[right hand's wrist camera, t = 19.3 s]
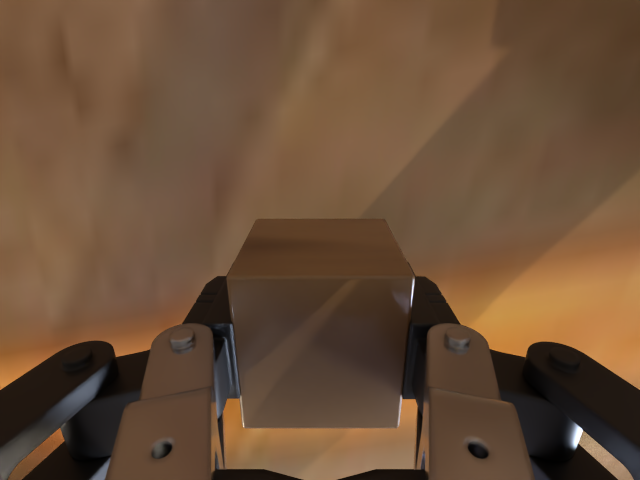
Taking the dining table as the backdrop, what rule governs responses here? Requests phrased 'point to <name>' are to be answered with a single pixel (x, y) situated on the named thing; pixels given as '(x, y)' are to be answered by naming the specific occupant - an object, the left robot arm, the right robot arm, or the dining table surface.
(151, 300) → the dining table surface
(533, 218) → the dining table surface
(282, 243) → the brown cube
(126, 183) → the dining table surface
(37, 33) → the dining table surface
